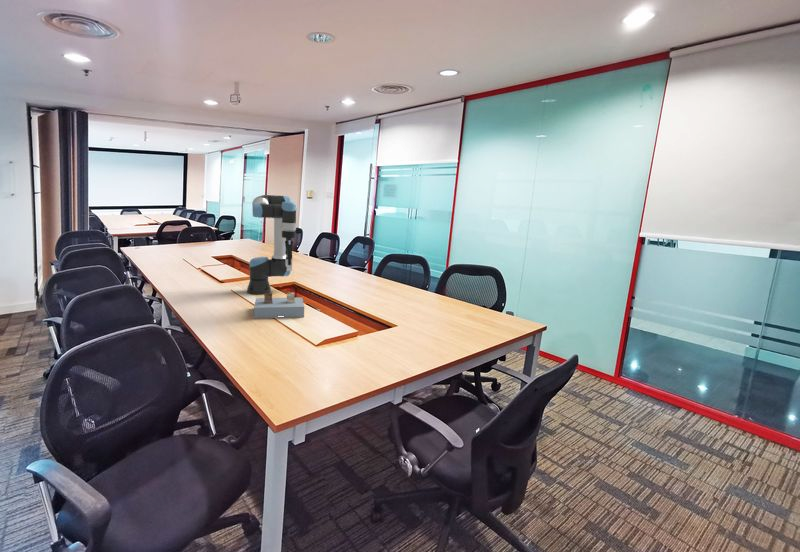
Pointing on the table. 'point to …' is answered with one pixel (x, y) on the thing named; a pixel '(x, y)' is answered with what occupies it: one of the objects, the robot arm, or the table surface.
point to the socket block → (278, 308)
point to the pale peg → (290, 297)
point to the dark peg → (268, 298)
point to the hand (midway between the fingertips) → (288, 268)
